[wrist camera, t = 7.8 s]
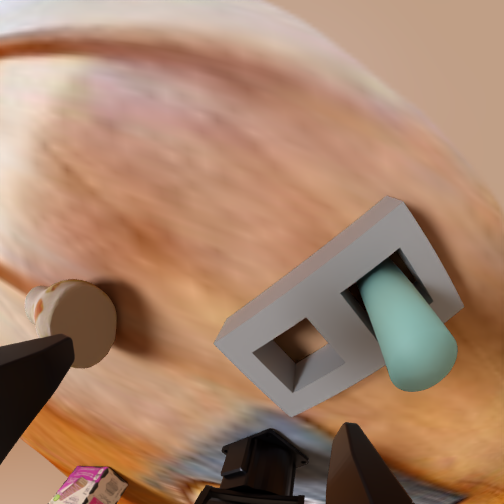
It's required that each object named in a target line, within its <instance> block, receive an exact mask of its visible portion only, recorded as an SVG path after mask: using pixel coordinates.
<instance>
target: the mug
mask: <svg viewBox="0 0 504 504" xmlns="http://www.w3.org/2000/svg"><path fill="white" fill-rule="evenodd" d="M25 311H26V315H27V317H28V319H29V320H30V322H31V323H33V324H34V325H35V327H36V331H37V334H38V337H39V338H43V337H47V336H51V335H56V334H60V333H63V334H65V335H67V336H69V337H71V338H72V340H73V346H74V352H75V360H74V362H73V364H72V366H71V367H73V368H89V367H92V366H93V365H95V364H97V363H99V362H100V361H101V360H102V359H103V358H104V357H105V356H106V355H107V354H108V352H109V350H110V348H111V346H112V344H113V343H114V340H115V335H116V322H117V315H116V310H115V307H114V305H113V303H112V301H111V300H110V298H109V297H108V295H107V294H105V292H103V291H102V290H101V289H99V288H98V287H97V286H95V285H93V284H92V283H89V282H87V281H83V280H77V279H69V280H64V281H60V282H58V283H55V284H53V285H52V286H50V287H49V288H48V287H46V286H37V287H35V288H33V289H32V290H31V291H30V292H29V293H28V294H27V296H26V299H25Z"/></svg>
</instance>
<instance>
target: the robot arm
mask: <svg viewBox="0 0 504 504" xmlns="http://www.w3.org/2000/svg"><path fill="white" fill-rule="evenodd" d="M74 360H75V352H74V346H73V340H72V338H71V337H69V336H67V335H65V334H63V333H60V334H56V335H51V336H47V337H43V338H38V339H34V340H29V341H24V342H20V343H15V344H10V345H6V346H1V347H0V465H1V463H2V462H3V460H4V459H5V457H6V456H7V454H8V453H9V452H10V450H11V449H12V448H13V446H14V445H15V443H16V442H17V441H18V439H19V438H20V437H21V435H22V434H23V433H24V431H25V430H26V429H27V427H28V426H29V425H30V423H31V422H32V421H33V419H34V418H35V417H36V415H37V414H38V413H39V412H40V410H41V409H42V408H43V406H44V405H45V404H46V403H47V401H48V400H49V399H50V398H51V396H52V395H53V394H54V392H55V391H56V389H57V388H58V386H59V384H60V383H61V381H62V380H63V378H64V377H65V375H66V373H67V372H68V370H69V369H70V367H71V366H72V364H73V362H74ZM222 452H223V453H224V454H225V455H227V456H226V459H225V462H224V465H223V468H222V471H221V476H223V479H222V482H221V485H220V488H215V487H212V486H209V485H206V486H205V488H204V489H203V491H201V493H200V495H199V496H198V498H197V500H196V501H195V503H194V504H304V497H305V495H298V496H293V488H294V479H295V470H296V468H297V467H300V466H303V465H306V464H308V460H309V459H308V458H307V457H306V456H305V455H303V454H302V453H301V452H299V451H298V450H297V449H296V448H294V447H293V446H292V445H290V444H289V443H288V442H287V441H285V440H284V439H283V438H282V437H280V436H279V435H278V434H277V433H275V432H274V431H273V430H270V429H267V430H264V431H262V432H260V433H257V434H255V435H252V436H250V437H247V438H245V439H242V440H239V441H237V442H234V443H231V444H229V445H226V446H223V448H222ZM326 504H415V503H412V499H411V498H410V497H409V495H408V494H407V493H406V491H405V490H404V488H403V487H402V486H401V484H400V483H399V481H398V480H397V479H396V477H395V476H394V474H393V473H392V472H391V470H390V469H389V467H388V466H387V465H386V463H385V462H384V460H383V459H382V458H381V456H380V455H379V453H378V452H377V451H376V449H375V448H374V446H373V445H372V443H371V442H370V441H369V439H368V438H367V436H366V435H365V434H364V432H363V431H362V429H361V428H360V426H359V425H358V424H356V423H348V422H345V423H344V424H343V425H342V426H341V428H340V430H339V431H338V433H337V435H336V436H335V438H334V440H333V444H332V451H331V458H330V465H329V472H328V478H327V487H326Z"/></svg>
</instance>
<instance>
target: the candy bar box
mask: <svg viewBox="0 0 504 504" xmlns="http://www.w3.org/2000/svg"><path fill="white" fill-rule="evenodd" d="M127 486H128V484H127V483H126V482H125V481H124V480H123V479H122V478H121V477H120V476H118V475H117V474H116V473H115V472H114V471H113V470H112V469H110V468H109V467H90V466H77V467H76V468H75V469H74V471H73V472H72V473H71V475H70V476H69V477H68V479H67V480H66V481H65V482H64V484H63V485H62V487H61V488H60V489H59V490H58V492H57V493H56V495H55V496H54V497H53V498H52V499H51V501H50V502H49V503H48V504H117V502H118V501H119V499H120V497H121V496H122V494H123V492H124V491H125V489H126V487H127Z"/></svg>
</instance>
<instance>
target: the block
mask: <svg viewBox="0 0 504 504" xmlns="http://www.w3.org/2000/svg"><path fill="white" fill-rule="evenodd" d="M395 251H397V252H398V254H399V255H400V257H401V258H402V260H403V261H404V263H405V264H406V266H407V267H408V269H409V271H410V272H411V274H412V275H413V277H414V278H415V280H416V281H415V282H414V283H413V286H414V287H415V288H416V289H417V291H418V292H419V293H420V294H421V295H422V297H423V298H424V299H425V300H426V302H427V303H428V304H429V306H430V307H431V308H432V309H433V311H434V312H435V313H436V315H437V316H438V317H439V318H440V320H441V321H442V322H443V324H444V323H445V322H447V321H448V320H449V319H450V318H452V317H453V316H454V315H455V314H456V313H458V312H459V311H460V310H461V309H462V308H464V305H463V303H462V301H461V299H460V297H459V295H458V293H457V291H456V289H455V287H454V285H453V283H452V281H451V279H450V277H449V276H448V274H447V272H446V270H445V268H444V266H443V265H442V263H441V261H440V259H439V258H438V256H437V254H436V252H435V251H434V249H433V247H432V246H431V244H430V242H429V241H428V239H427V237H426V236H425V234H424V233H423V231H422V229H421V228H420V226H419V225H418V223H417V222H416V220H415V218H414V217H413V215H412V214H411V212H410V211H409V209H408V208H407V206H406V205H405V203H404V202H403V201H400V200H398V199H395V198H392V197H389V196H386V197H384V198H383V199H382V200H381V201H380V202H378V203H377V204H376V205H375V206H373V207H372V208H371V209H370V210H368V211H367V212H366V213H365V214H364V215H362V216H361V217H360V218H359V219H357V220H356V221H355V222H354V223H352V224H351V225H350V226H349V227H347V228H346V229H345V230H343V231H342V232H341V233H340V234H338V235H337V236H336V237H335V238H333V239H332V240H331V241H330V242H328V243H327V244H326V245H324V246H323V247H322V248H321V249H319V250H318V251H317V252H315V253H314V254H313V255H312V256H310V257H309V258H308V259H306V260H305V261H304V262H302V263H301V264H300V265H299V266H297V267H296V268H295V269H293V270H292V271H291V272H289V273H288V274H287V275H285V276H284V277H283V278H281V279H280V280H279V281H277V282H276V283H275V284H273V285H272V286H271V287H269V288H268V289H267V290H265V291H264V292H263V293H261V294H260V295H259V296H257V297H256V298H255V299H253V300H252V301H251V302H249V303H248V304H246V305H245V306H244V307H242V308H241V309H240V310H238V311H237V312H235V313H234V314H233V315H231V316H230V317H229V318H227V319H226V321H225V323H224V325H223V327H222V329H221V331H220V332H219V334H218V336H217V338H216V340H215V342H214V345H215V346H216V347H217V348H218V349H219V350H220V351H221V352H222V353H223V354H224V355H225V356H226V357H227V358H228V359H229V360H230V361H231V362H232V363H233V364H234V365H235V366H236V367H237V368H238V369H239V370H240V371H241V372H242V373H243V374H244V375H245V376H246V377H247V378H248V379H249V380H251V381H252V382H253V383H254V384H255V385H256V386H257V387H258V388H259V389H260V390H261V391H262V392H263V393H264V394H265V395H266V396H268V397H269V398H270V399H271V400H272V401H273V402H274V403H275V404H276V405H277V406H279V407H280V408H281V409H282V410H283V411H284V412H285V413H286V414H288V415H289V416H290V417H293V416H295V415H297V414H299V413H301V412H303V411H305V410H307V409H309V408H311V407H313V406H315V405H317V404H319V403H321V402H323V401H325V400H327V399H329V398H331V397H332V396H334V395H336V394H338V393H340V392H342V391H343V390H345V389H347V388H349V387H350V386H352V385H354V384H356V383H357V382H359V381H361V380H362V379H364V378H366V377H367V376H369V375H371V374H372V373H374V372H375V371H377V370H379V369H380V368H382V367H383V366H385V365H386V364H385V361H384V358H383V355H382V352H381V349H380V346H379V343H378V340H377V337H376V334H375V332H374V329H373V326H372V323H371V321H370V318H369V316H368V315H367V313H366V312H365V311H364V309H363V308H362V307H361V305H360V304H359V303H358V302H357V300H356V299H355V298H354V296H353V295H352V294H351V292H350V291H349V290H348V289H347V288H348V287H349V286H351V285H352V284H353V283H355V282H356V281H357V280H359V279H360V278H361V277H363V276H364V275H365V274H367V273H368V272H369V271H371V270H372V269H373V268H374V267H376V266H377V265H378V264H380V263H381V262H382V261H384V260H385V259H386V258H387V257H389V256H390V255H391V254H392V253H394V252H395ZM304 318H307V319H308V320H309V321H310V322H311V323H312V325H313V326H314V327H315V328H316V329H317V330H318V332H319V333H320V334H321V335H322V336H323V337H324V338H325V340H326V341H327V342H328V344H327V345H325V346H324V347H322V348H321V349H319V350H317V351H316V352H314V353H313V354H311V355H309V356H308V357H306V358H304V359H303V360H301V361H299V362H298V363H296V364H295V363H294V361H293V360H292V359H291V358H290V357H289V356H288V355H287V354H286V353H285V352H284V351H283V350H282V349H281V348H280V347H279V346H278V345H277V344H276V343H275V341H274V340H273V339H274V338H276V337H277V336H279V335H280V334H282V333H283V332H285V331H286V330H288V329H289V328H291V327H292V326H294V325H295V324H297V323H298V322H300V321H301V320H303V319H304Z"/></svg>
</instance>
